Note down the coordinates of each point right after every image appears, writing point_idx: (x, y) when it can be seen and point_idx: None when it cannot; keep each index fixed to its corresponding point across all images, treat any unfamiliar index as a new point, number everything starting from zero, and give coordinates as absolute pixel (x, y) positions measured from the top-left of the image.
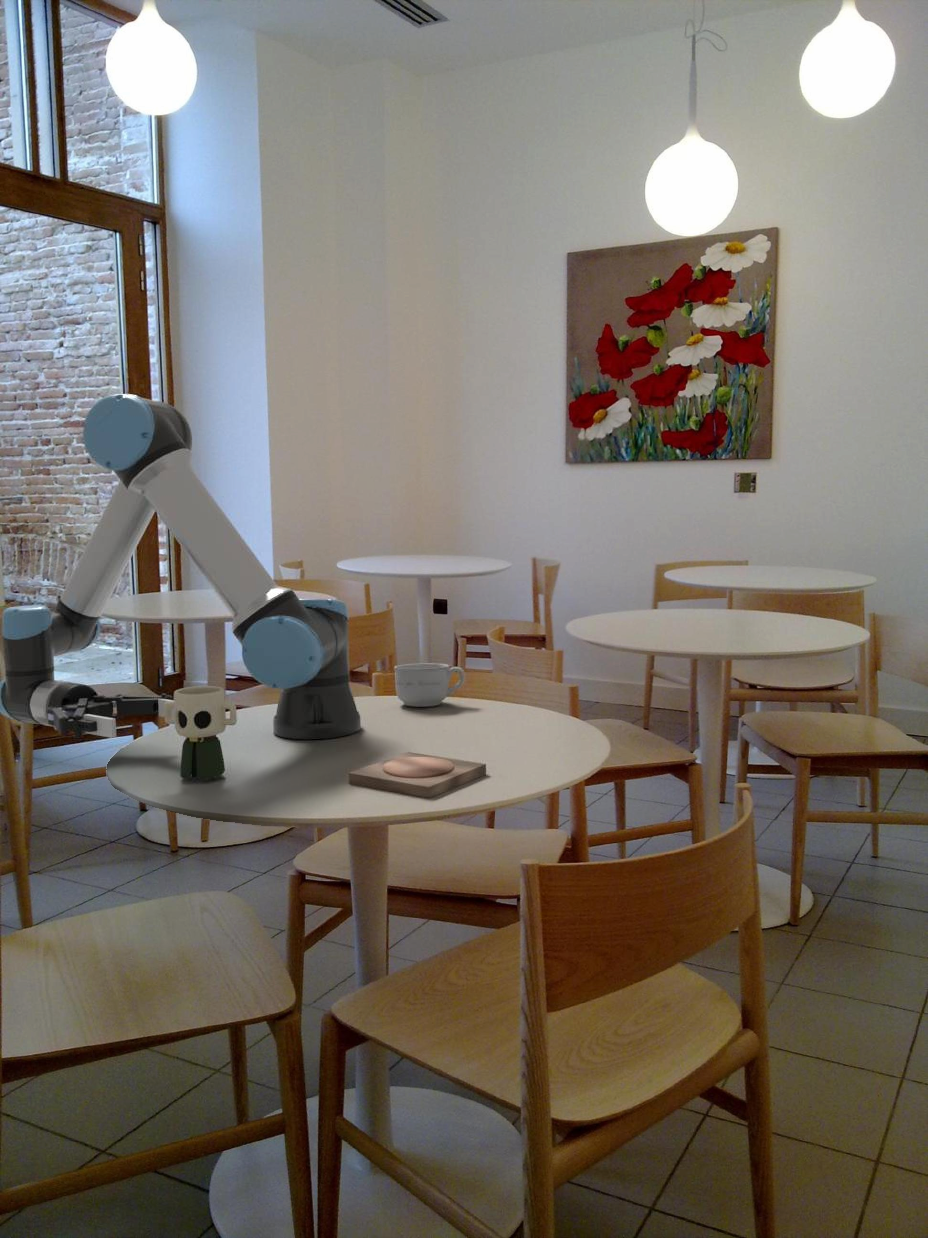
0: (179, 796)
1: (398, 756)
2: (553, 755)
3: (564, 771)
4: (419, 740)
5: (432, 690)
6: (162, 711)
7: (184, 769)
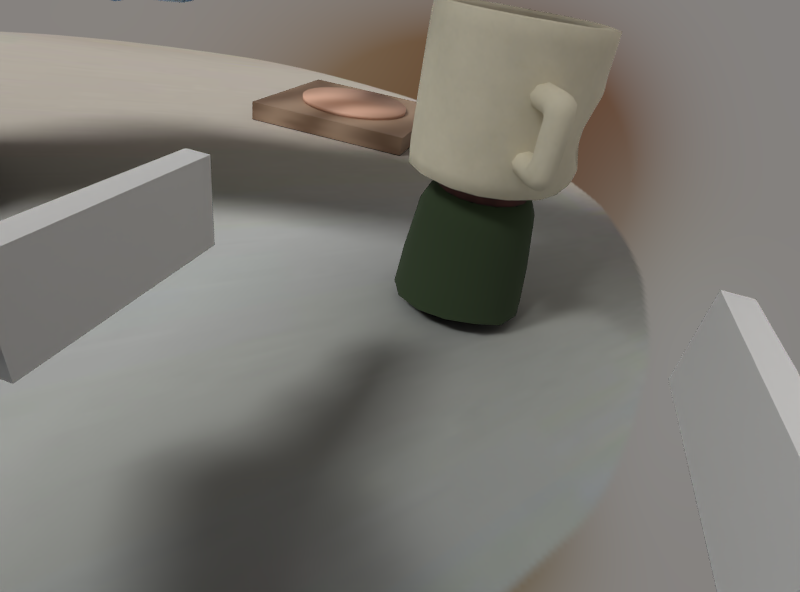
0: (607, 303)
1: (286, 108)
2: (217, 64)
3: (294, 70)
4: (75, 103)
5: None
6: (42, 321)
7: (521, 288)
